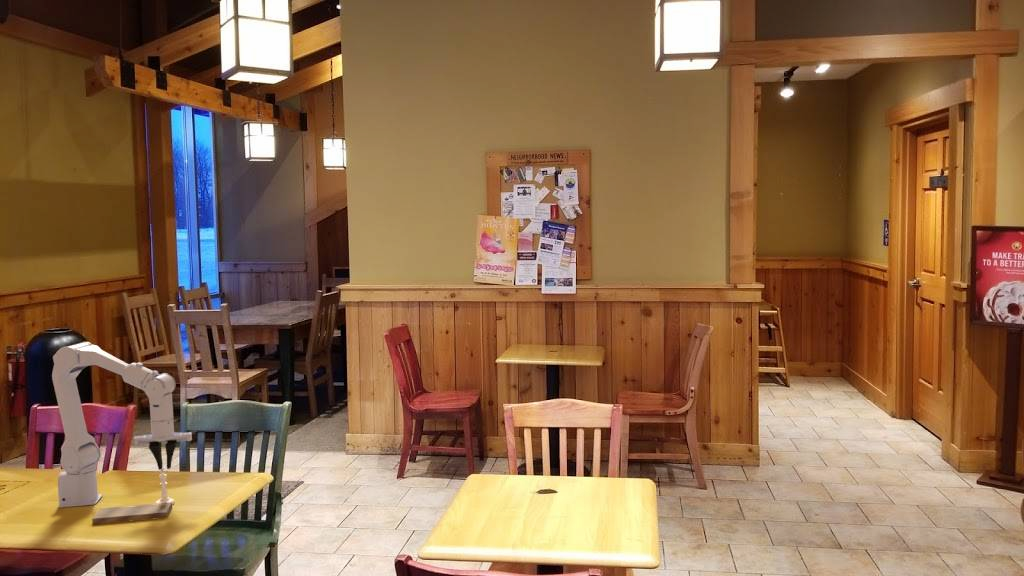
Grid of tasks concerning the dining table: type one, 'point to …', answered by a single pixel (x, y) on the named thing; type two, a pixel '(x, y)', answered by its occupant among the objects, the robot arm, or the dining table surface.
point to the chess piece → (164, 489)
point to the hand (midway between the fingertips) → (164, 468)
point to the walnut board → (132, 513)
